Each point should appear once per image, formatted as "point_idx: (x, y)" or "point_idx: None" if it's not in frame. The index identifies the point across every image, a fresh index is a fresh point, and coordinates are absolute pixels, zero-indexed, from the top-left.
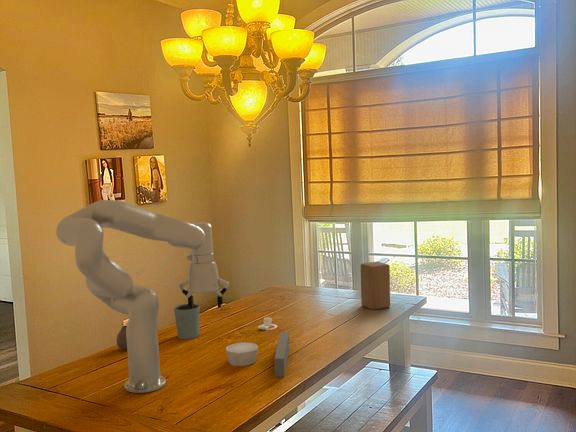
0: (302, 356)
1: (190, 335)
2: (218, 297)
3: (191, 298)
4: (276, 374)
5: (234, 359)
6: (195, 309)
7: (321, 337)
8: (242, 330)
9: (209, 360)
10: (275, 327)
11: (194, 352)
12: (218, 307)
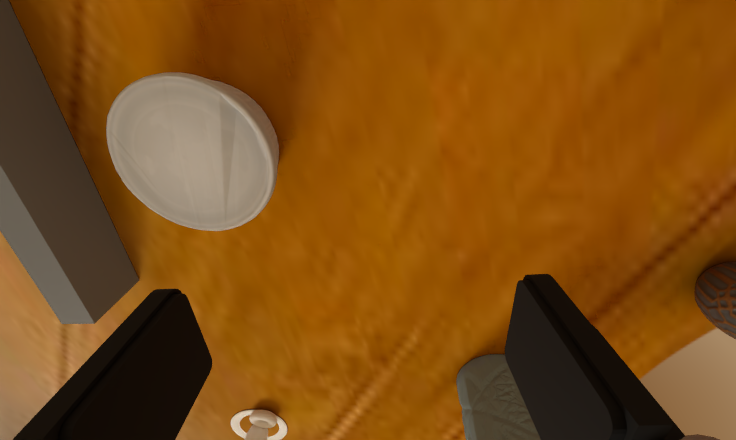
0: None
1: (483, 366)
2: (40, 424)
3: (607, 417)
4: None
5: (218, 83)
6: None
7: (57, 355)
8: (326, 408)
9: (367, 158)
10: (234, 421)
11: (446, 243)
12: (172, 290)
